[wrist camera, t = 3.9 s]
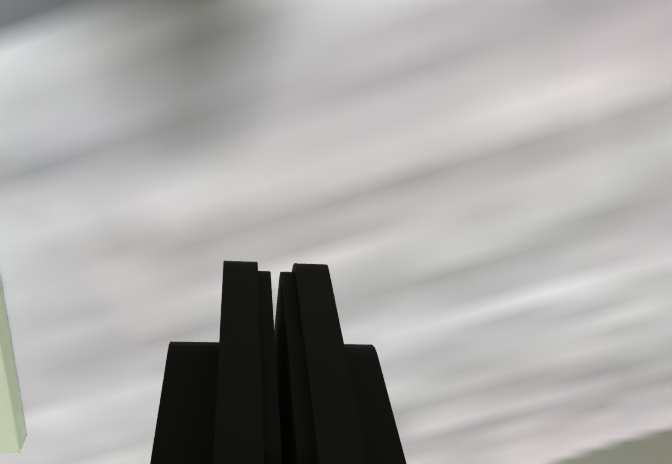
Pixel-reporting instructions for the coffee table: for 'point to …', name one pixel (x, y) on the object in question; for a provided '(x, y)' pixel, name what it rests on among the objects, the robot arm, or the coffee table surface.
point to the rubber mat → (9, 391)
